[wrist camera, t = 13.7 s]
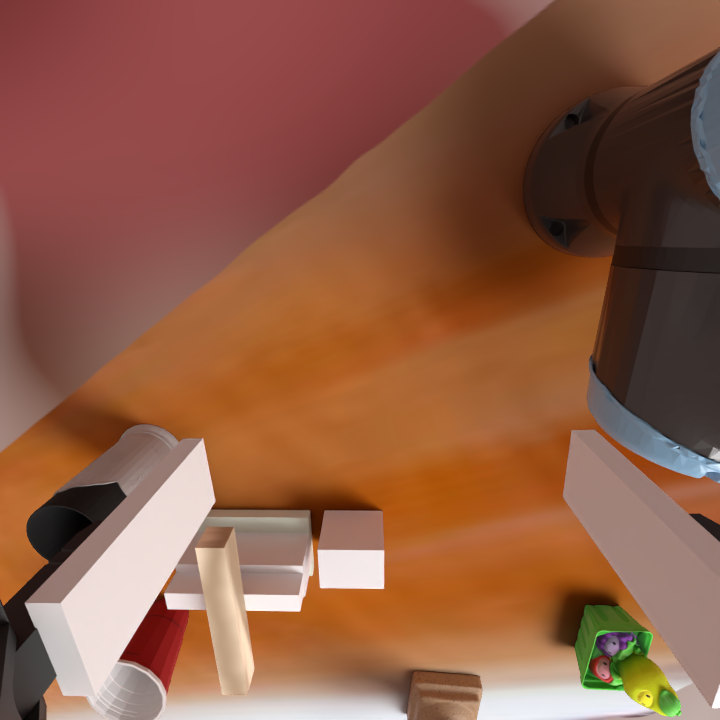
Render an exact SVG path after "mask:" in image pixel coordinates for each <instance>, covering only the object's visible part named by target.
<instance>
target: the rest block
mask: <svg viewBox="0 0 720 720" xmlns="http://www.w3.org/2000/svg"><path fill="white" fill-rule="evenodd" d="M318 562H319V578H320V588H363V589H384V537H383V511H352V510H325V511H324V516H323V522H322V528H321V534H320V539H319V545H318Z"/></svg>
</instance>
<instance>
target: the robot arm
mask: <svg viewBox="0 0 720 720" xmlns="http://www.w3.org/2000/svg"><path fill="white" fill-rule="evenodd" d="M523 194H524V203H525V208H526V212H527V215H528V218H529V221H530V223H531V225H532V226H533V228H534V230H535V231H536V233H537V234H538V235H539V236H540V237H541V238H542V239H543V240H544V241H545V242H546V243H547V244H548V245H550V246H551V247H553V248H554V249H556V250H558V251H560V252H563V253H566V254H569V255H574V256H582V257H606V256H612V255H613V259H612V264H611V268H610V273H609V278H608V283H607V287H606V292H605V297H604V302H603V307H602V312H601V316H600V321H599V326H598V331H597V336H596V340H595V345H594V350H593V354H592V355H591V357H590V359H589V371H590V378H589V385H588V392H587V403H588V407H589V410H590V412H591V413H592V415H593V416H594V418H595V420H596V422H597V423H598V425H599V426H600V427H601V428H602V429H603V430H604V431H605V432H606V433H607V434H608V435H610V436H611V437H612V438H613V439H615V440H616V441H617V442H619V443H620V444H621V445H623V446H624V447H626V448H628V449H629V450H631V451H633V452H634V453H636V454H638V455H640V456H642V457H644V458H646V459H647V460H650V461H652V462H654V463H656V464H658V465H661V466H663V467H665V468H668V469H670V470H673V471H676V472H679V473H682V474H685V475H688V476H692V477H695V478H701V477H703V476H706V477H708V478H710V479H712V480H713V481H715V482H717V483H720V47H719V48H717V49H715V50H714V51H712V52H710V53H708V54H706V55H705V56H703V57H701V58H699V59H697V60H696V61H694V62H692V63H690V64H688V65H686V66H685V67H683V68H681V69H679V70H677V71H676V72H674V73H672V74H670V75H668V76H667V77H665V78H663V79H661V80H659V81H657V82H656V83H654V84H652V85H650V86H624V87H616V88H611V89H607V90H604V91H601V92H598V93H596V94H593V95H591V96H589V97H587V98H585V99H583V100H582V101H580V102H578V103H577V104H575V105H574V106H572V107H571V108H569V109H568V110H566V111H565V112H564V113H562V114H561V115H560V116H559V117H558V118H556V119H555V120H554V121H553V122H552V123H551V124H550V126H549V127H548V128H547V129H546V130H545V132H544V133H543V134H542V136H541V137H540V139H539V140H538V142H537V144H536V145H535V147H534V149H533V151H532V154H531V156H530V158H529V161H528V164H527V168H526V172H525V178H524V188H523ZM563 498H564V499H565V501H566V502H567V504H568V505H569V507H570V508H571V509H572V511H573V512H574V514H575V515H576V516H577V518H578V519H579V521H580V522H581V524H582V525H583V526H584V528H585V529H586V531H587V532H588V533H589V535H590V536H591V538H592V539H593V541H594V542H595V543H596V545H597V546H598V548H599V549H600V551H601V552H602V553H603V555H604V556H605V558H606V559H607V560H608V562H609V563H610V565H611V566H612V568H613V569H614V570H615V572H616V573H617V575H618V576H619V577H620V579H621V580H622V582H623V583H624V585H625V586H626V587H627V589H628V590H629V592H630V593H631V594H632V596H633V597H634V599H635V600H636V602H637V603H638V604H639V606H640V607H641V609H642V610H643V612H644V613H645V614H646V616H647V617H648V619H649V620H650V621H651V623H652V624H653V626H654V627H655V629H656V630H657V631H658V633H659V634H660V636H661V637H662V638H663V640H664V641H665V643H666V644H667V646H668V647H669V648H670V650H671V651H672V653H673V654H674V655H675V657H676V658H677V660H678V661H679V663H680V664H681V665H682V667H683V668H684V670H685V671H686V673H687V674H688V675H689V677H690V678H691V680H692V681H693V682H694V684H695V685H696V687H697V688H698V690H699V691H700V692H701V694H702V695H703V697H704V698H705V699H706V701H707V702H708V704H709V705H710V706H711V708H720V525H719V524H717V523H715V522H714V521H712V520H710V519H708V518H706V517H705V516H703V515H701V514H688V513H687V512H686V511H685V510H683V509H682V508H681V507H680V506H679V505H678V504H677V503H676V502H675V501H673V500H672V499H671V498H670V497H669V496H668V495H667V494H666V493H665V492H663V491H662V490H661V489H660V488H659V487H658V486H657V485H656V484H654V483H653V482H652V481H651V480H650V479H649V478H648V477H647V476H646V475H644V474H643V473H642V472H641V471H640V470H639V469H638V468H637V467H636V466H634V465H633V464H632V463H631V462H630V461H629V460H628V459H627V458H626V457H624V456H623V455H622V454H621V453H620V452H619V451H618V450H617V449H616V448H614V447H613V446H612V445H611V444H610V443H609V442H608V441H607V440H606V439H604V438H603V437H602V436H601V435H600V434H599V433H598V432H597V431H595V430H572V433H571V441H570V448H569V456H568V463H567V471H566V478H565V486H564V493H563ZM214 503H215V497H214V492H213V487H212V481H211V476H210V471H209V466H208V461H207V456H206V451H205V446H204V441H203V438H198V439H182V440H181V441H180V442H179V443H178V444H177V445H176V446H175V447H174V448H173V449H172V451H171V452H170V453H169V454H168V455H167V456H166V457H165V458H164V459H163V460H162V461H161V462H160V463H159V464H158V465H157V466H156V467H155V468H154V469H153V470H152V471H151V472H150V473H149V474H148V475H147V476H146V478H145V479H144V480H143V481H142V482H141V483H140V484H139V485H138V486H137V487H136V488H135V489H134V490H133V491H132V492H131V493H130V494H129V495H128V496H127V497H126V498H125V499H124V500H123V501H122V502H121V503H120V505H119V506H118V507H117V508H116V509H115V510H114V511H113V512H112V513H111V514H110V515H109V516H108V517H107V518H106V519H105V520H97V521H95V522H94V523H92V524H91V525H89V526H88V527H86V528H85V529H83V530H82V531H80V532H78V533H77V534H76V535H75V536H74V537H73V538H72V539H71V540H70V541H69V542H68V543H67V544H66V545H65V546H64V547H63V548H62V550H61V552H58V553H57V554H56V555H55V556H54V557H53V558H52V559H51V560H50V561H49V563H48V565H45V566H44V567H43V568H42V569H40V570H39V571H38V572H37V573H36V574H35V575H34V576H33V577H32V578H31V579H30V580H29V581H28V582H27V583H26V584H25V585H24V586H23V587H22V588H21V589H20V590H19V591H18V592H17V593H16V594H15V595H14V596H13V597H12V598H11V599H10V600H9V601H8V602H7V603H6V604H5V605H4V606H3V605H2V602H1V600H0V720H46V708H47V706H46V703H45V700H44V697H43V694H44V693H45V691H46V690H47V689H48V687H49V686H50V685H51V683H52V682H53V680H54V679H55V678H56V679H57V682H58V684H59V686H60V689H61V691H62V693H63V696H96V695H97V694H98V692H99V690H100V689H101V687H102V686H103V684H104V682H105V681H106V679H107V677H108V676H109V674H110V673H111V671H112V669H113V668H114V666H115V664H116V663H117V661H118V660H119V658H120V656H121V655H122V653H123V651H124V650H125V648H126V646H127V645H128V643H129V642H130V640H131V638H132V637H133V635H134V633H135V632H136V630H137V629H138V627H139V625H140V624H141V622H142V620H143V619H144V617H145V615H146V614H147V612H148V611H149V609H150V607H151V606H152V604H153V602H154V601H155V599H156V598H157V596H158V594H159V593H160V591H161V589H162V588H163V586H164V584H165V583H166V581H167V580H168V578H169V576H170V575H171V573H172V571H173V570H174V568H175V567H176V565H177V563H178V562H179V560H180V558H181V557H182V555H183V553H184V552H185V550H186V549H187V547H188V545H189V544H190V542H191V540H192V539H193V537H194V536H195V534H196V532H197V531H198V529H199V527H200V526H201V524H202V523H203V521H204V519H205V518H206V516H207V514H208V513H209V511H210V509H211V508H212V506H213V505H214Z"/></svg>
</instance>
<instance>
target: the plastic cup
mask: <svg viewBox="0 0 720 720" xmlns="http://www.w3.org/2000/svg"><path fill="white" fill-rule="evenodd" d="M188 617H189V611H188V610H183V609H167V604H166V600H165V598H164V599H160V600H158V601H157V602H155V603H154V605H152V606H151V607H150V609H149V611H148V612H147V614H146V615H145V617H144V619H143V620H142V622H141V624H140V625H139V627H138V629H137V630H136V632H135V633H134V635H133V637H132V638H131V640H130V642H129V643H128V645H127V646H126V648H125V650H124V651H123V653H122V655H121V656H120V658H119V660H118V661H117V663H116V664H115V666H114V668H113V669H112V671H111V673H110V674H109V676H108V677H107V679H106V681H105V682H104V684H103V686H102V687H101V689H100V690H99V692H98V694H97V695H96V696H86V698H87V700H88V702H89V704H90V705H91V707H92V708H93V709H95V710H96V711H97V712H98V713H99V714H100V715H101V716H102V717H104V718H106V719H108V720H157V719H159V718H160V716H161V714H162V713H163V711H164V710H165V707H166V697H167V692H168V687H169V684H170V682H171V676H172V673H173V670H174V667H175V663H176V660H177V657H178V654H179V651H180V647H181V644H182V641H183V635H184V632H185V629H186V626H187V623H188Z"/></svg>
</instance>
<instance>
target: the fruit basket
mask: <svg viewBox="0 0 720 720" xmlns="http://www.w3.org/2000/svg"><path fill="white" fill-rule="evenodd" d="M577 637H578V639H577V641H576V643H575V652H576V656H577V661H578V665H579V670H580V674H581V676H580V679H581V684H582V687H583V688H585V689H595V690H617V691H625V692H626V693H627V695H628V696H629V697H630V698H632V699H633V700H634V701H635V702H637V703H639V704H641V705H642V706H644V707H647V708H649V709H652V710H654V711H655V712H657V713H659V714H661V715H664V716H669V717H672V716H675V715H677V716H679V715H680V714H681V711H680V709H681V704H680V701H679V700H678V696H677V694H676V693H675V691H674V690H673V689H672V687H671V686H670V684H669V683H668V681H667V678H666V677H665V675H664V673H663V672H662V671H661V669H660V668H659V667H658V666H657V665H656V664H655V663H654V662H653V661H651V660H650V659H648V658H647V654H648V651H649V648H650V645H651V642H652V638H653V635H652V633H650V632H649V631H648V630H647V629H646V628H644V627H642V626H641V625H640V624H639V623H638V622H637V621H636V620H634V619H633V618H632V617H631V616H630V615H629V614H628V613H627V612H626V611H625V610H623V609H622V608H621V607H620V606H613V607H612V606H608V605H594V606H592V605H586V606H585V609H584V616H583V617H582V620H581V628H580V629H579V632H578V636H577Z"/></svg>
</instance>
